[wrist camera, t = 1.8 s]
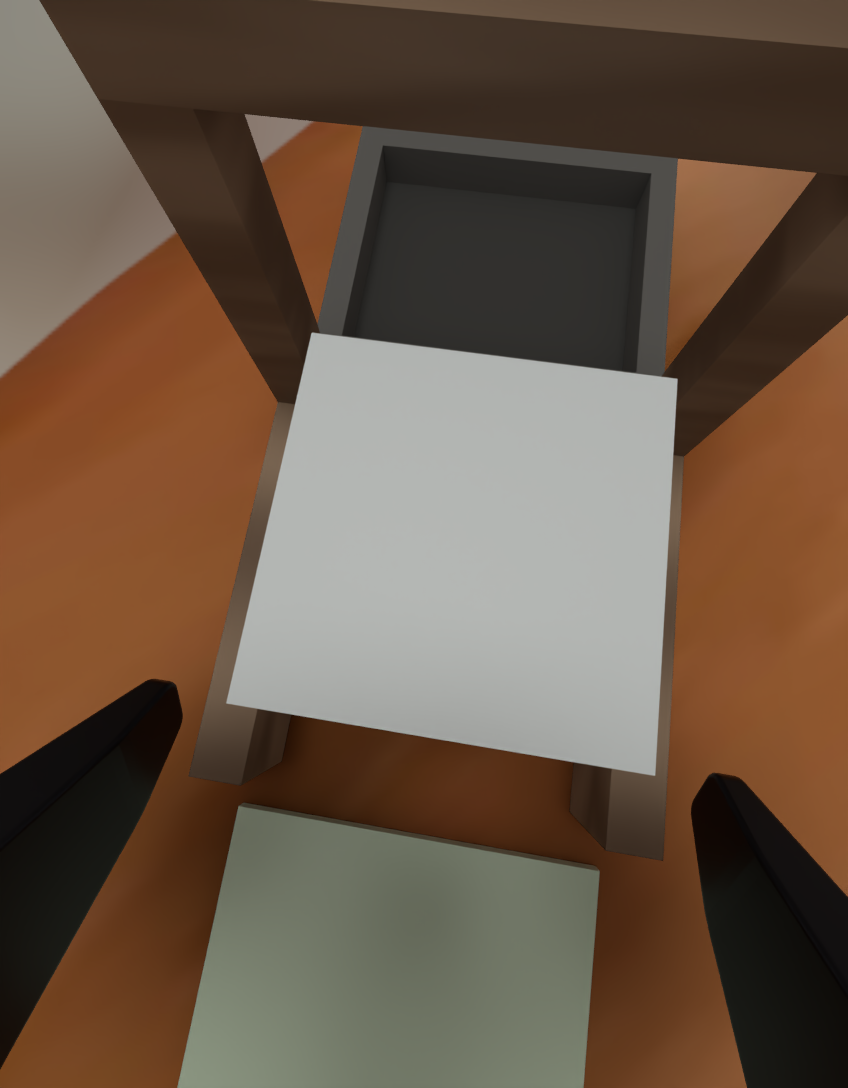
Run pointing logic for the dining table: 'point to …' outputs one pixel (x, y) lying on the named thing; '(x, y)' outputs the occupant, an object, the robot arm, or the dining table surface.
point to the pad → (391, 962)
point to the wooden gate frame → (500, 114)
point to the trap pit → (505, 250)
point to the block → (468, 553)
